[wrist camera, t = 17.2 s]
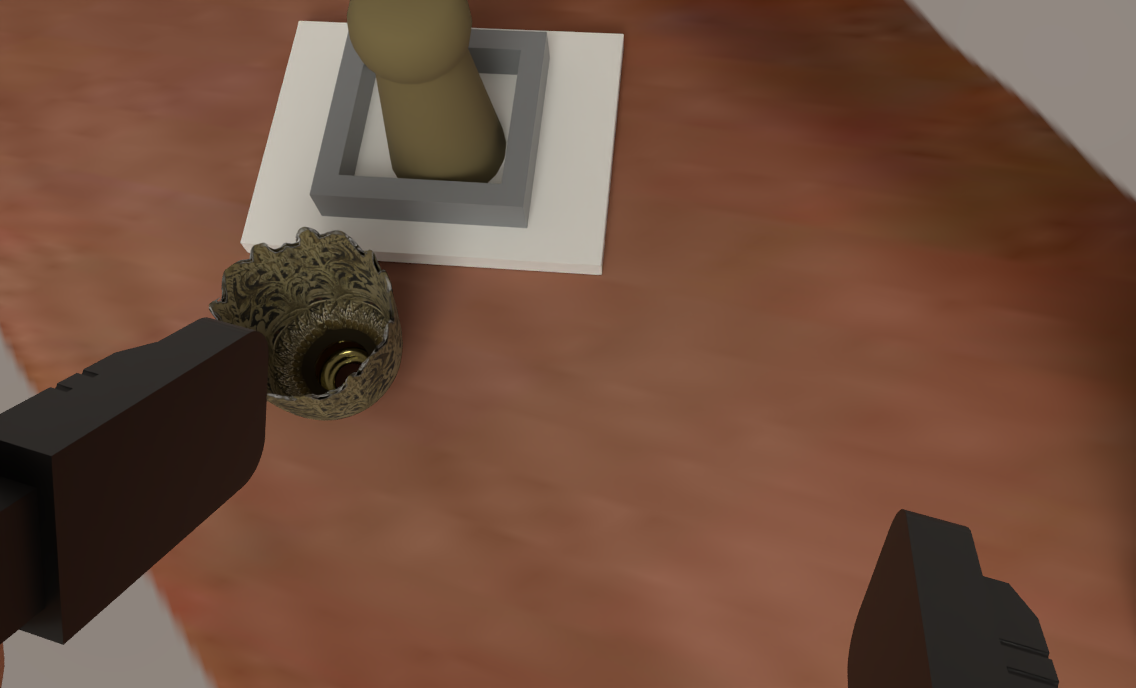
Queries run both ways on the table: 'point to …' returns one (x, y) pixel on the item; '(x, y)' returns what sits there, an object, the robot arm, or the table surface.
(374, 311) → the cup
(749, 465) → the table surface
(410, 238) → the socket board
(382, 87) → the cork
